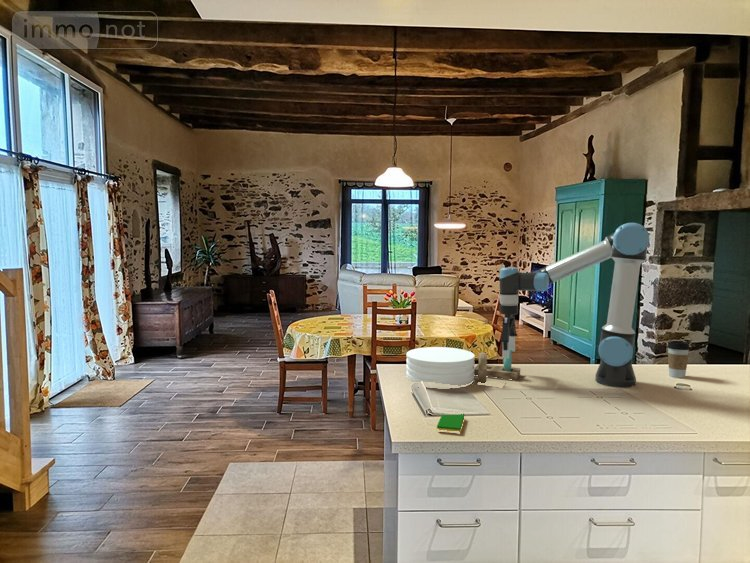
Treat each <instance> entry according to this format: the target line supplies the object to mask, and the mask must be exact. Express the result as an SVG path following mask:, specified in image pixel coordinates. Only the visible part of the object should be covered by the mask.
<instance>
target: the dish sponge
mask: <svg viewBox="0 0 750 563" xmlns="http://www.w3.org/2000/svg"><path fill="white" fill-rule="evenodd" d="M464 414H465V413H463V415H462V414H461V415H442V414H441V415H440V418H439V420H438V423H437V425H436V430H437V429H439V430H447V431H459V432H460V431H461V432H462V430H461V427H462V424H463V420H464V416H465V417H466V414H465V415H464ZM463 425H464V424H463ZM462 428H463V427H462Z"/></svg>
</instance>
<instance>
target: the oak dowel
mask: <svg viewBox="0 0 750 563" xmlns="http://www.w3.org/2000/svg"><path fill="white" fill-rule="evenodd" d="M487 359H488V353H487V352H479V353H478V364H479V373H478V378H477V380H478V381H477V382H481V383H485V382H486V380H487V378H486V376H487V365H488V360H487Z"/></svg>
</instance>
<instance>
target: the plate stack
mask: <svg viewBox="0 0 750 563" xmlns="http://www.w3.org/2000/svg"><path fill="white" fill-rule="evenodd" d="M475 356H476V355H475V353H473V352H472V351H470V350H467V349H461V348H456V347H448V346H447V347H445V346H443V347H442V346H429V347H428V346H427V347H418V348H413V349H410V350H408V351H407V352H406V368H405V369H406V370H405V371H406V372H405V373H406V375H405V376H406V377H408V378H409V380H411V381H412V382H421V381H423V382H435V383H442V384H450V385H458V386H461V385H466V384H469V383H471V382H472V381H473V382H474V383H475V376H474V371H475ZM473 382H472V383H473ZM474 383H473V384H474Z"/></svg>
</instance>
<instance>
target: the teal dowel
mask: <svg viewBox="0 0 750 563" xmlns="http://www.w3.org/2000/svg"><path fill="white" fill-rule="evenodd" d="M512 352H513V351H512V350H510V349H509V358H503V366H504V371H511V367H512V362H513V361H512V357H513V356H512V354H513V353H512Z"/></svg>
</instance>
